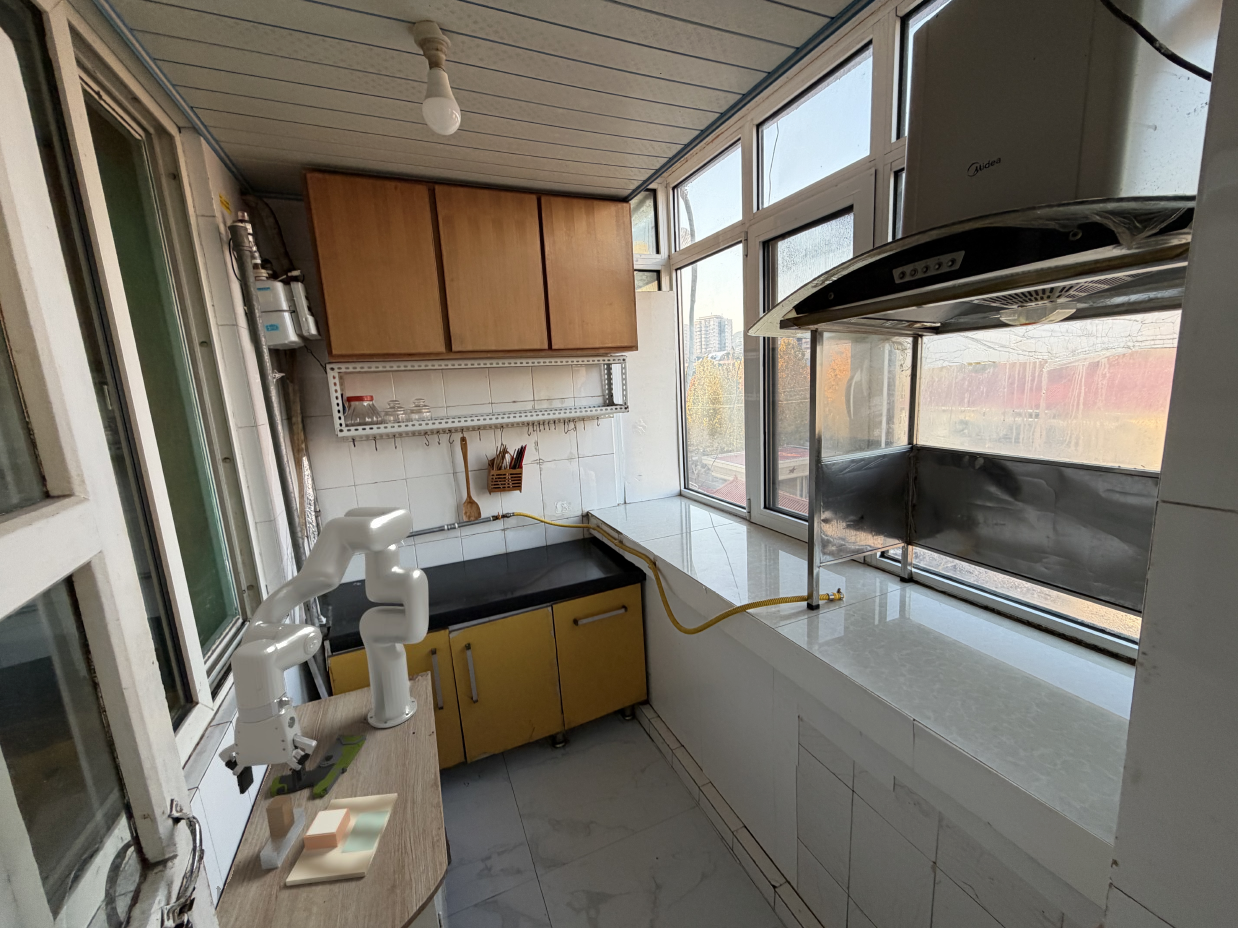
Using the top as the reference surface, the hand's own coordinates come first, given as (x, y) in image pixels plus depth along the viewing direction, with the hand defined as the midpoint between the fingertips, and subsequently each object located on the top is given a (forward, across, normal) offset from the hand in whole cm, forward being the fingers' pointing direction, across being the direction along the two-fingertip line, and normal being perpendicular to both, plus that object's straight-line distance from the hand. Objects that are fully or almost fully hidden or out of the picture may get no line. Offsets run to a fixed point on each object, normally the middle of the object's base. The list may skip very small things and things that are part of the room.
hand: (273, 785), depth 96 cm
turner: (+14, 0, -1) cm, 14 cm away
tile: (+13, -9, -1) cm, 16 cm away
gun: (+14, +3, -22) cm, 26 cm away
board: (+14, -12, -1) cm, 19 cm away
